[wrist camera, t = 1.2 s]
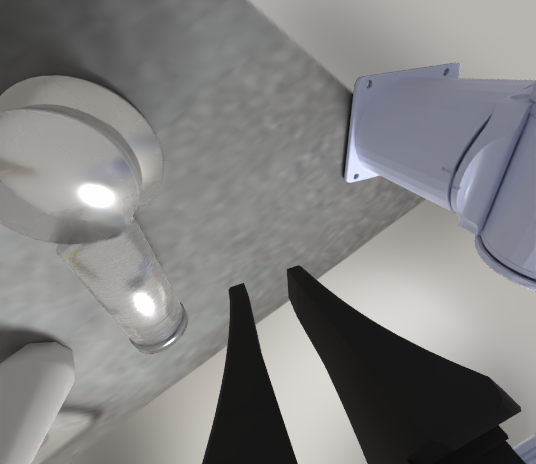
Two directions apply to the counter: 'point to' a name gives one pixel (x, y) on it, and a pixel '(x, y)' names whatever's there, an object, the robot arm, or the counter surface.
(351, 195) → the counter surface
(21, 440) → the salt shaker
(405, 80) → the robot arm
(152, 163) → the duct stub
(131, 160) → the elbow
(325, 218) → the counter surface
